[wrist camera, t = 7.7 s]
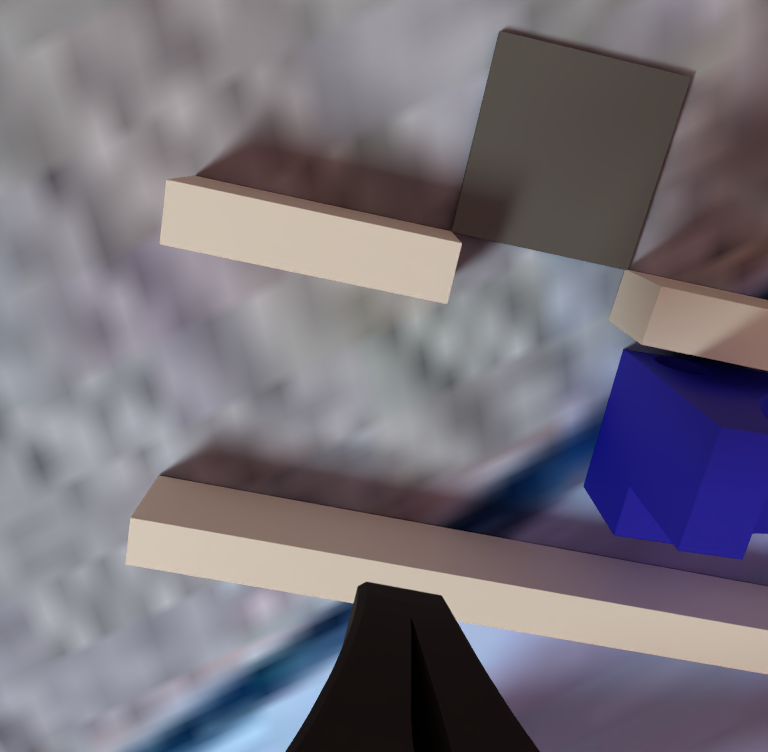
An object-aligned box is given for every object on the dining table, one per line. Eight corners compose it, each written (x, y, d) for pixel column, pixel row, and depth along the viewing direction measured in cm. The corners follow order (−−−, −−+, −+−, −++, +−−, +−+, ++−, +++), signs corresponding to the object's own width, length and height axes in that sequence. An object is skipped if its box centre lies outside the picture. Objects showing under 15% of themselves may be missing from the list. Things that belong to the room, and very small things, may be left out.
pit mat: (625, 269, 19) (627, 270, 19) (451, 231, 18) (451, 232, 18) (687, 78, 17) (691, 76, 17) (498, 32, 17) (500, 30, 17)
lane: (948, 658, 23) (1027, 729, 20) (153, 517, 21) (118, 575, 18) (1113, 374, 20) (1236, 412, 17) (194, 175, 18) (160, 180, 15)
